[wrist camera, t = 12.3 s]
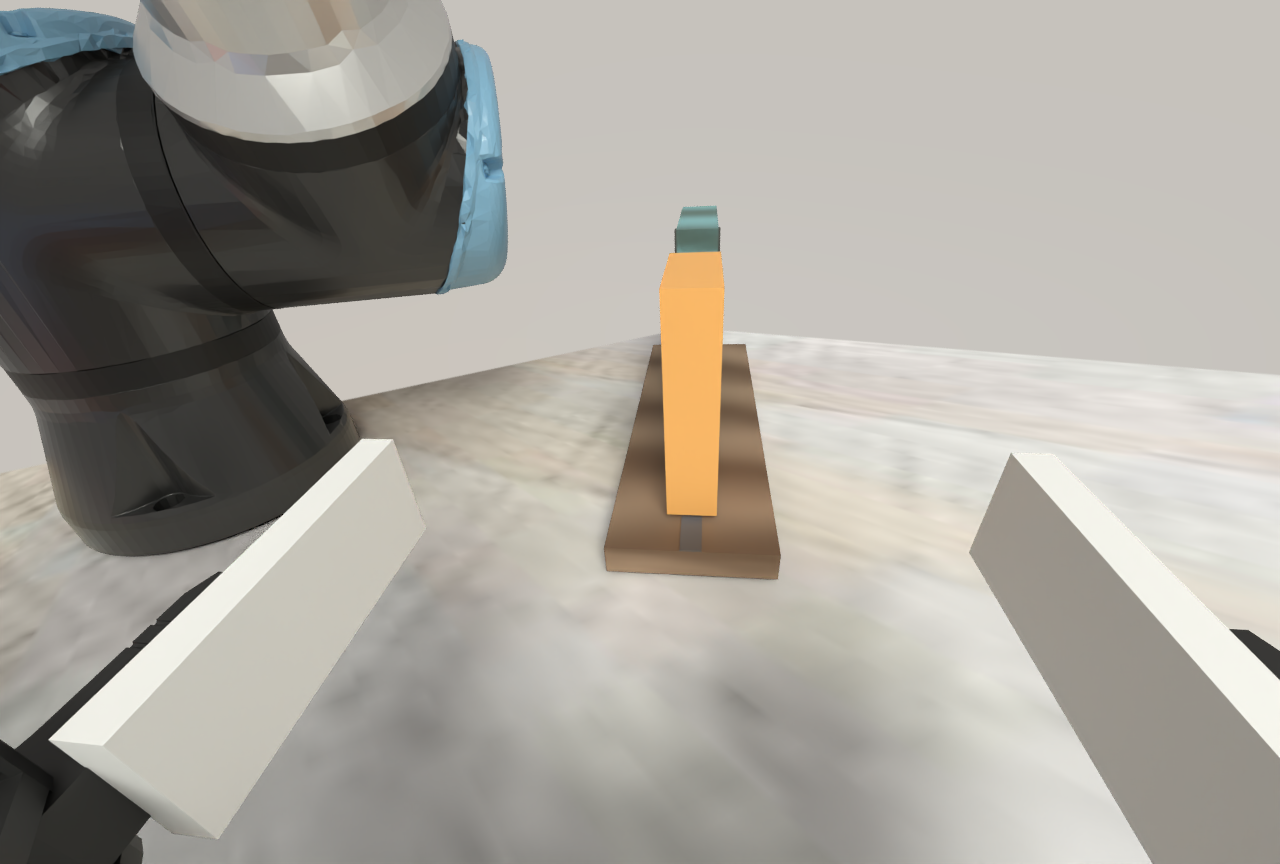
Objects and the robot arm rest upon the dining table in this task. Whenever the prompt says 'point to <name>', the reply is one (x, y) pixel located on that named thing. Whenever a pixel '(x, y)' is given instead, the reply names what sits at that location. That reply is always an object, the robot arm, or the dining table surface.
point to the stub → (692, 379)
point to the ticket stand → (743, 498)
